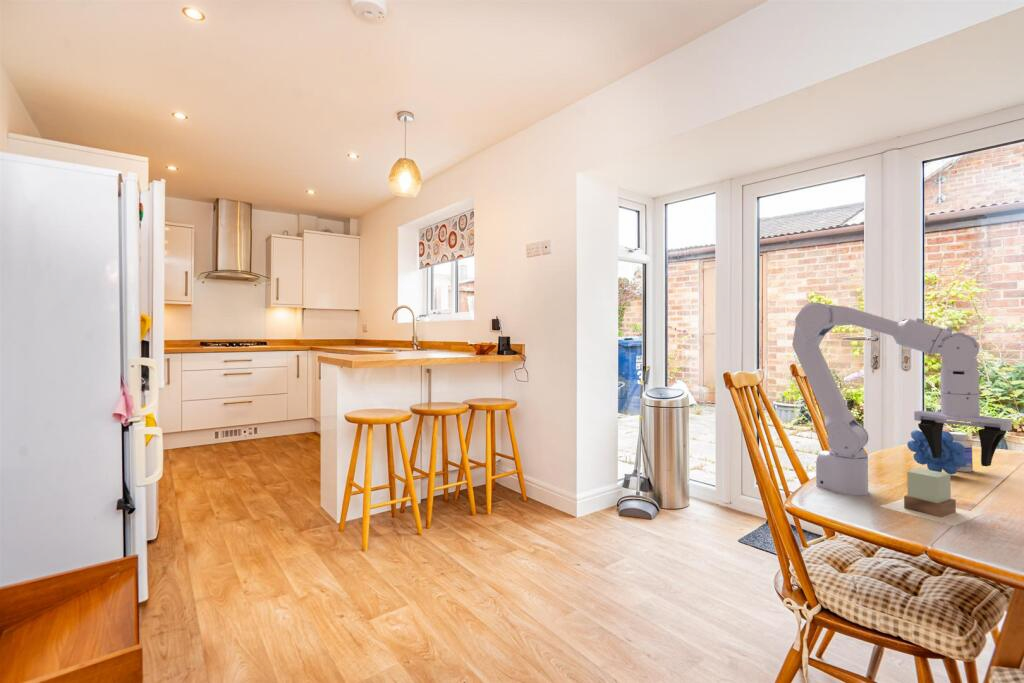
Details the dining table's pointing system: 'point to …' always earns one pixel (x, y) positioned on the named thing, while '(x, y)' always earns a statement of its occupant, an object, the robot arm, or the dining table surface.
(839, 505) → the dining table surface
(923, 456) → the blue flower
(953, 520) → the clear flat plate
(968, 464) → the pill bottle
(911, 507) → the walnut base block
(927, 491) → the sage block
